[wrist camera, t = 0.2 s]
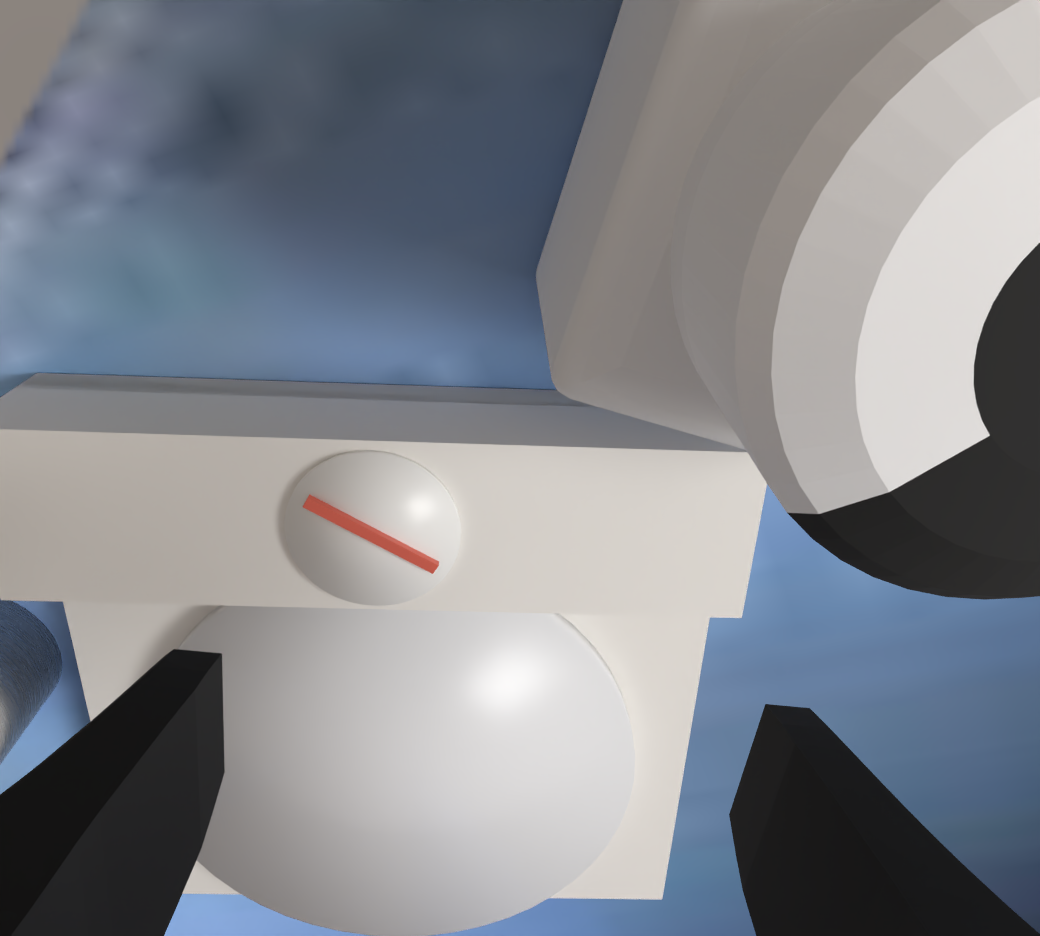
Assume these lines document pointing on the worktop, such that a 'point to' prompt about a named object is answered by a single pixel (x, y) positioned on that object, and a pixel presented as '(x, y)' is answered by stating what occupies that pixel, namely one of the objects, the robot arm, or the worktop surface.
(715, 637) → the worktop surface
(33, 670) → the cylinder
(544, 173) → the worktop surface
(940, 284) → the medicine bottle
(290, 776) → the scale
